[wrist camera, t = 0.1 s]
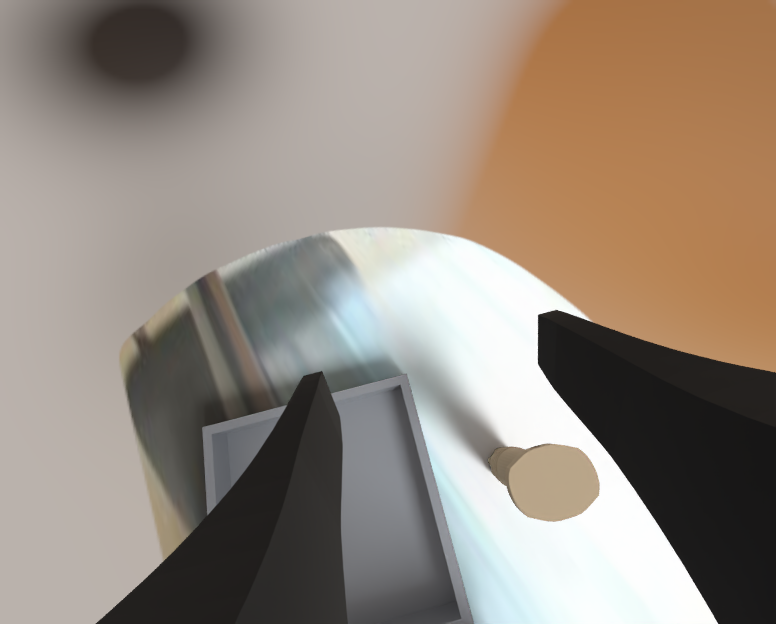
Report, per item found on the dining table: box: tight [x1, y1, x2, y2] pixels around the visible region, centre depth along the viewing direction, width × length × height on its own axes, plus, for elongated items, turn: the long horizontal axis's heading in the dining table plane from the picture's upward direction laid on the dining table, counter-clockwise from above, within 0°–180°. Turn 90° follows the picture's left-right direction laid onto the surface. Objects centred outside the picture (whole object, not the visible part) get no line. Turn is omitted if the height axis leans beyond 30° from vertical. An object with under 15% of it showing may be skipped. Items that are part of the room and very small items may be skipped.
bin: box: [202, 374, 474, 624], centre depth 37 cm, size 24×24×4 cm
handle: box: [488, 444, 599, 522], centre depth 32 cm, size 5×6×15 cm
